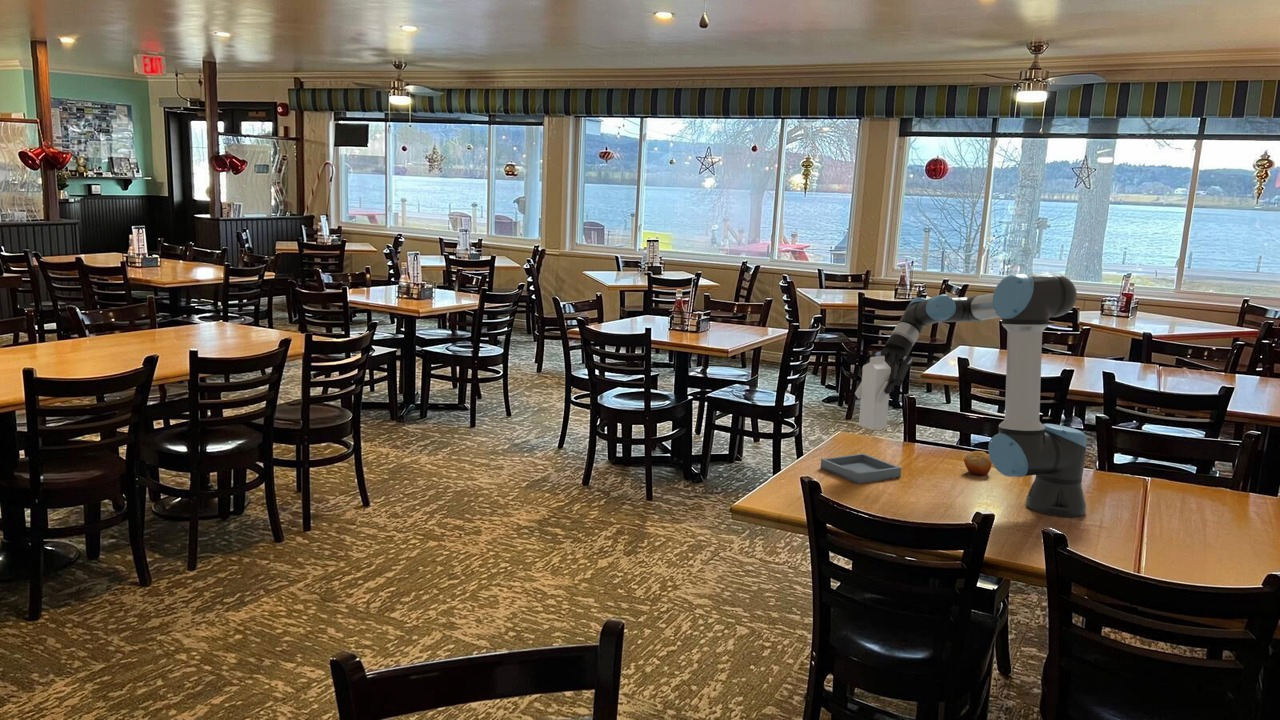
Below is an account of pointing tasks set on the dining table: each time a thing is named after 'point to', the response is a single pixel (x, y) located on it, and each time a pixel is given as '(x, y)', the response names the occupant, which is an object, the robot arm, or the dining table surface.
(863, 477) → the tray
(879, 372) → the milk
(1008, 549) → the dining table surface
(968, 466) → the fruit
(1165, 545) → the dining table surface
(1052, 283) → the robot arm
